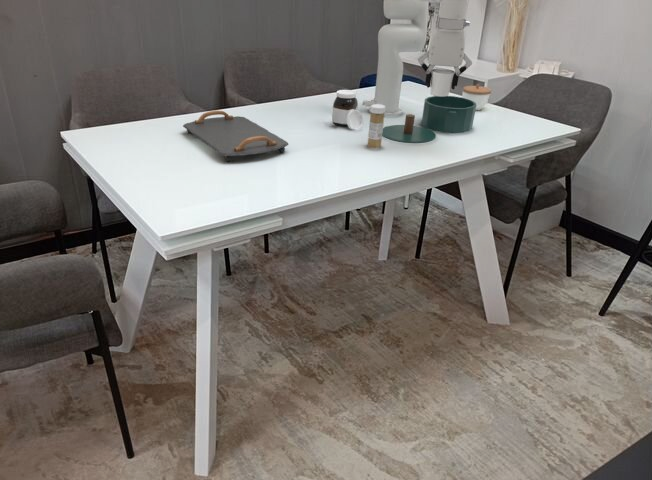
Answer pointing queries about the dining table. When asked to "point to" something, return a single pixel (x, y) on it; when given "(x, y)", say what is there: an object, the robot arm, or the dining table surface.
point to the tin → (448, 114)
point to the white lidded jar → (477, 95)
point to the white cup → (441, 82)
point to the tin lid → (408, 132)
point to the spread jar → (346, 110)
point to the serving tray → (234, 135)
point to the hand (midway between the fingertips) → (440, 87)
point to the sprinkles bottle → (376, 125)
